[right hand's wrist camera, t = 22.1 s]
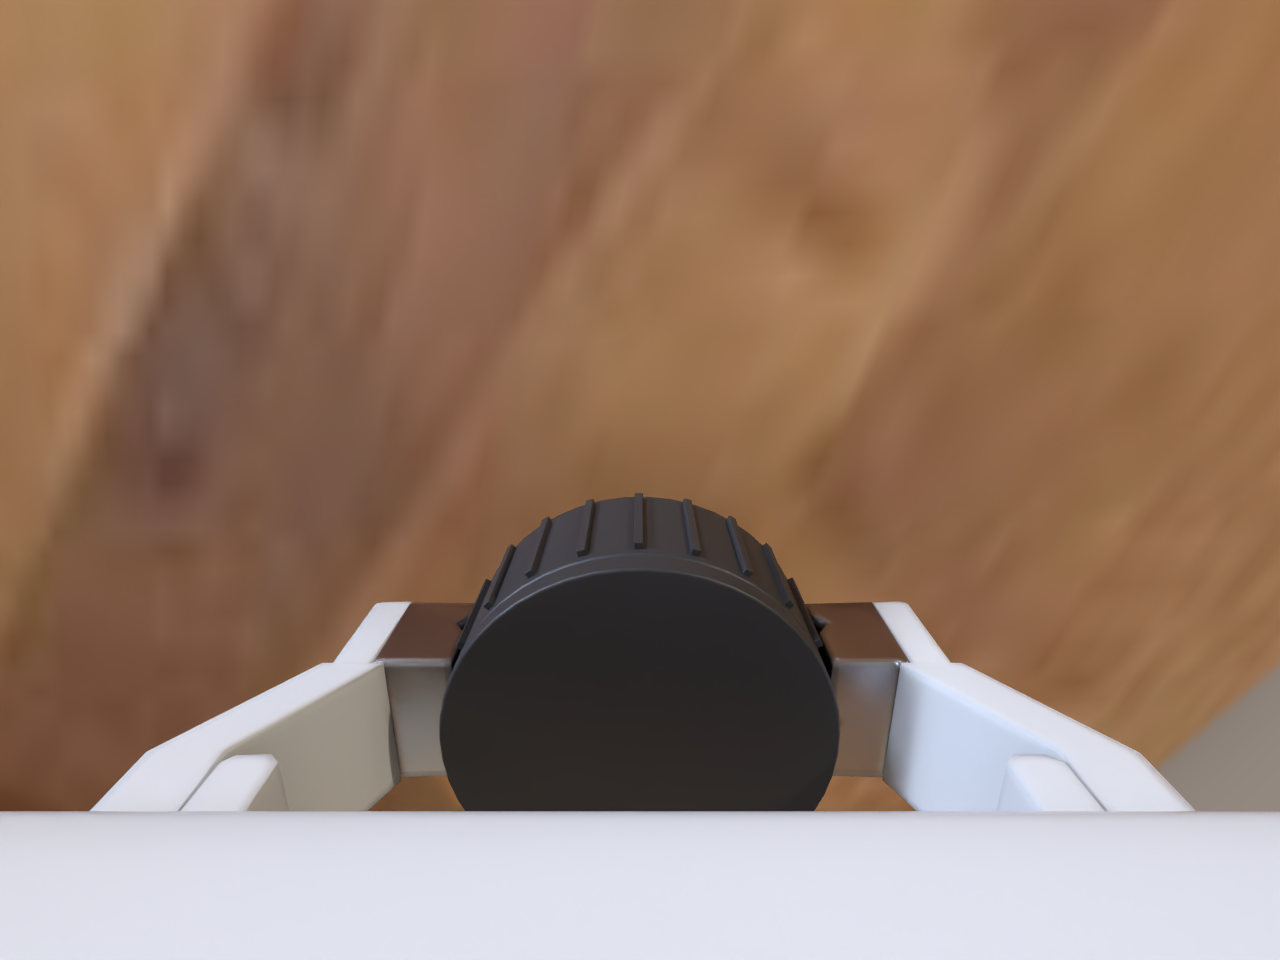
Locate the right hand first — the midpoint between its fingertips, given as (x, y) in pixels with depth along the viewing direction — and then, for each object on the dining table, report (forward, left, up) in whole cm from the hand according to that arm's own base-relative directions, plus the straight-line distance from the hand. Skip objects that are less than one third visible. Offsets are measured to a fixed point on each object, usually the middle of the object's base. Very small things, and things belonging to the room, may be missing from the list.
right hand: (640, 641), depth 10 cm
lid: (0, 0, +2) cm, 2 cm away
